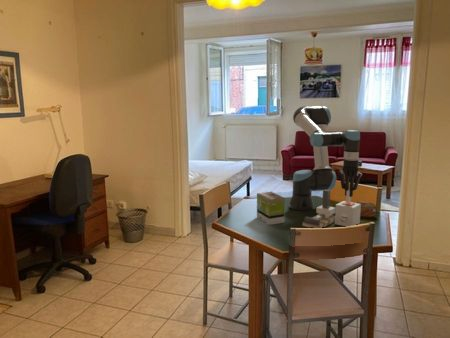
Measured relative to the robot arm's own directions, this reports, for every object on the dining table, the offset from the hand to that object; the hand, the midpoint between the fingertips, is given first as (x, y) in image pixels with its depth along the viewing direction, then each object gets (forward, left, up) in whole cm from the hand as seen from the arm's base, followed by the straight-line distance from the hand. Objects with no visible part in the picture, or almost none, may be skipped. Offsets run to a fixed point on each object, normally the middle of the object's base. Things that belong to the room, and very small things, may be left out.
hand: (348, 201), depth 211 cm
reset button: (0, 0, -4) cm, 4 cm away
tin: (+1, +20, -13) cm, 24 cm away
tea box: (-36, -22, -13) cm, 44 cm away
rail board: (-12, -7, -12) cm, 19 cm away
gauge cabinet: (0, 0, -12) cm, 12 cm away
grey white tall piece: (-12, -2, -10) cm, 16 cm away
